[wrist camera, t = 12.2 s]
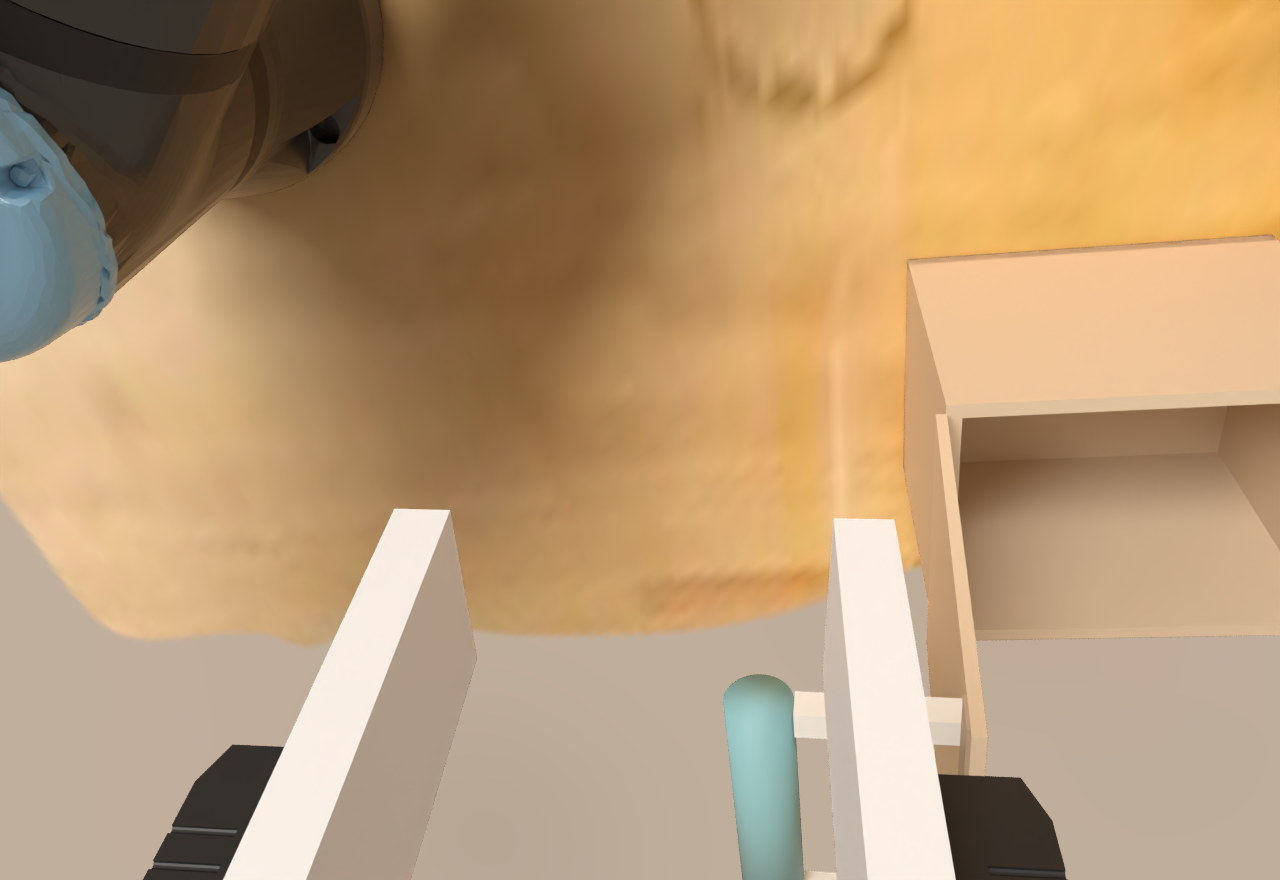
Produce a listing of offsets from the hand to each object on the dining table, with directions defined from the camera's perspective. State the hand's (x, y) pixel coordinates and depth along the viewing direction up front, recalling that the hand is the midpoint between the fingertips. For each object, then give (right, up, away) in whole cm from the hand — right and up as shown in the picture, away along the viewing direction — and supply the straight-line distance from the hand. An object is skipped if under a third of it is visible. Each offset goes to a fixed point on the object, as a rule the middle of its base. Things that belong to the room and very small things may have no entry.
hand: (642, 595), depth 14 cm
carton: (+21, +6, +38) cm, 44 cm away
